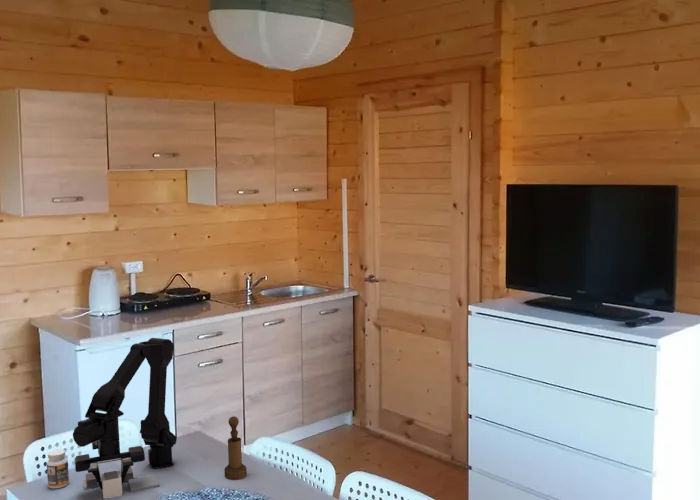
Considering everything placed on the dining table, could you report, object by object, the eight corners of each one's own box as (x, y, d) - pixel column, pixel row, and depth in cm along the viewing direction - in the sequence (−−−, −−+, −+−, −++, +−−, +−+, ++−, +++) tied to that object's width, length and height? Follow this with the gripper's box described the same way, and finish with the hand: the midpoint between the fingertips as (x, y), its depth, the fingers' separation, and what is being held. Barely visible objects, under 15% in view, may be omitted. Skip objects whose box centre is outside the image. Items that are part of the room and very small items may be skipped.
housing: (134, 473, 220) (133, 465, 220) (136, 480, 215) (135, 472, 214) (83, 482, 214) (82, 474, 214) (84, 489, 209) (83, 481, 209)
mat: (155, 476, 218) (155, 474, 218) (159, 486, 210) (159, 484, 210) (128, 480, 215) (127, 479, 214) (130, 491, 207) (130, 489, 207)
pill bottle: (61, 489, 209) (59, 456, 208) (44, 488, 211) (41, 455, 210) (73, 481, 215) (70, 449, 214) (55, 480, 216) (53, 448, 215)
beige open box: (120, 487, 210) (119, 469, 210) (122, 495, 205) (121, 476, 204) (102, 490, 209) (101, 472, 208) (103, 499, 203) (102, 480, 202)
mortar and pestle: (251, 473, 218) (248, 415, 217) (239, 481, 213) (236, 421, 211) (232, 469, 221) (230, 412, 219) (220, 477, 215) (217, 419, 213)
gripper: (139, 421, 217) (141, 471, 219) (72, 430, 210) (75, 482, 212) (143, 432, 207) (146, 485, 209) (73, 443, 200) (77, 497, 202)
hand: (111, 487), depth 208 cm, fingers open, 5 cm apart
